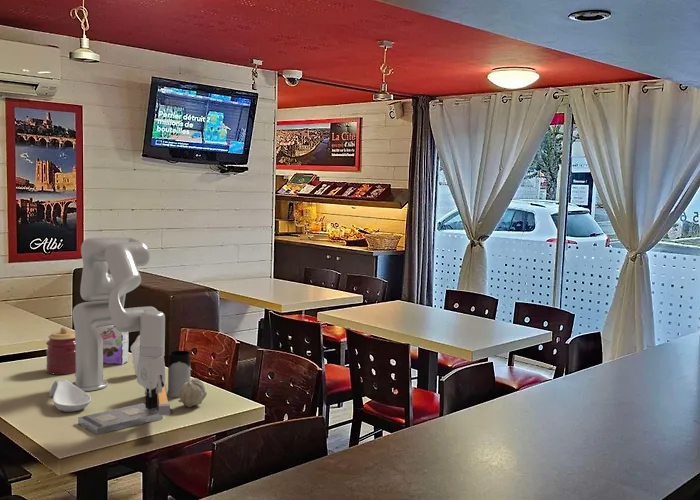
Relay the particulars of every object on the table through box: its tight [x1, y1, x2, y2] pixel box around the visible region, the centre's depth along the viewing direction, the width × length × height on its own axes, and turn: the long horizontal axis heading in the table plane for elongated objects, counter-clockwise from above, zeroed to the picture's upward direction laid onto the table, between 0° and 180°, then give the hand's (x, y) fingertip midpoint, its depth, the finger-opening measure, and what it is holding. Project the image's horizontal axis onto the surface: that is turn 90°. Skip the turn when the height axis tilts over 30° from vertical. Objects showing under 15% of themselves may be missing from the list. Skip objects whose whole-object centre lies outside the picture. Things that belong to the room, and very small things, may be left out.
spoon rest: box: [49, 379, 92, 413], centre depth 231 cm, size 24×12×7 cm, turn 40°
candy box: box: [96, 325, 130, 366], centre depth 286 cm, size 14×6×16 cm, turn 80°
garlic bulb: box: [177, 377, 208, 408], centre depth 232 cm, size 9×8×10 cm
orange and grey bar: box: [157, 383, 171, 416], centre depth 216 cm, size 4×24×3 cm, turn 18°
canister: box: [45, 326, 76, 375], centre depth 271 cm, size 13×13×18 cm
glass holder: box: [166, 350, 191, 398], centre depth 249 cm, size 9×14×15 cm, turn 12°
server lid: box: [77, 402, 164, 436], centre depth 216 cm, size 13×22×2 cm, turn 136°
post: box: [154, 398, 174, 414], centre depth 226 cm, size 6×6×6 cm
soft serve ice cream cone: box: [130, 334, 140, 377], centre depth 268 cm, size 8×8×16 cm
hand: (151, 407), depth 214 cm, fingers closed
